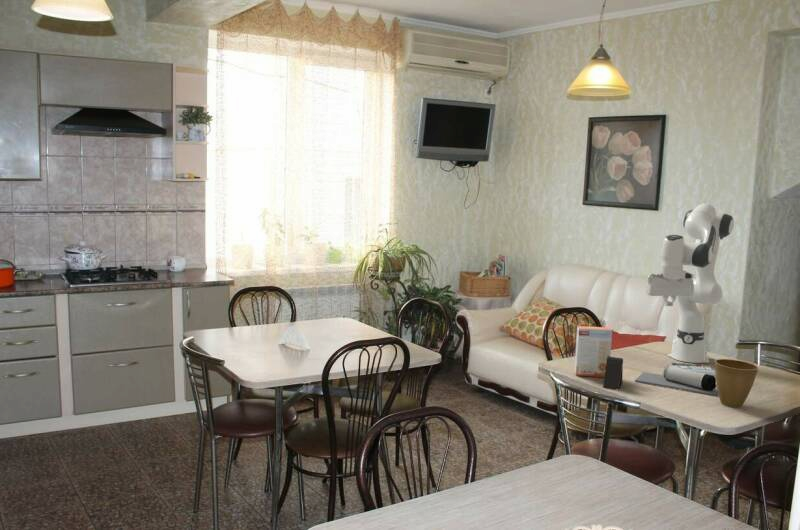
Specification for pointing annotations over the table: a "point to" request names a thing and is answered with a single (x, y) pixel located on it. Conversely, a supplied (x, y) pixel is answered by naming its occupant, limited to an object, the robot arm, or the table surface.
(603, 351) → the cracker box
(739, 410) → the table surface
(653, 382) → the rubber mat
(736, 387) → the plant pot
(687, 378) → the travel mug
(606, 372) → the door stopper
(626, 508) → the table surface
